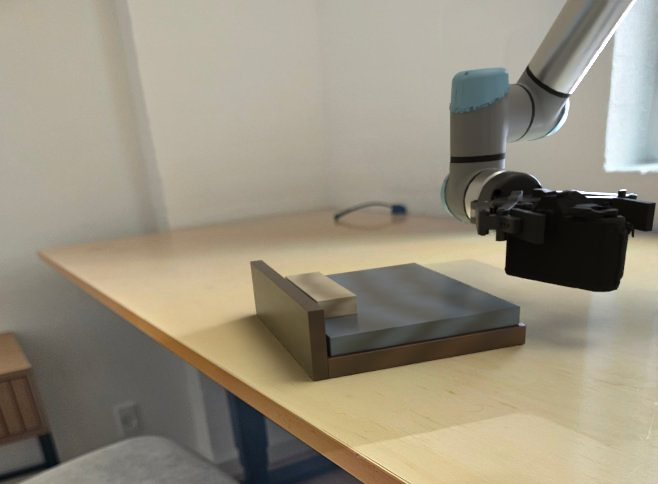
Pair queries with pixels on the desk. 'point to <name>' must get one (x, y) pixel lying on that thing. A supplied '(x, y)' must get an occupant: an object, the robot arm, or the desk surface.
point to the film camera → (572, 244)
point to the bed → (312, 333)
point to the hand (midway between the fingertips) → (596, 223)
